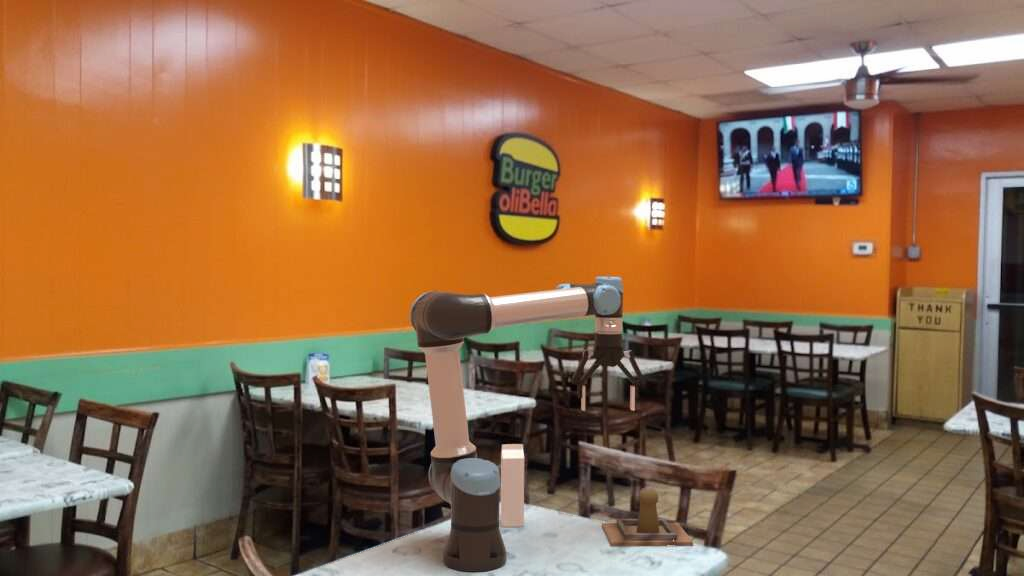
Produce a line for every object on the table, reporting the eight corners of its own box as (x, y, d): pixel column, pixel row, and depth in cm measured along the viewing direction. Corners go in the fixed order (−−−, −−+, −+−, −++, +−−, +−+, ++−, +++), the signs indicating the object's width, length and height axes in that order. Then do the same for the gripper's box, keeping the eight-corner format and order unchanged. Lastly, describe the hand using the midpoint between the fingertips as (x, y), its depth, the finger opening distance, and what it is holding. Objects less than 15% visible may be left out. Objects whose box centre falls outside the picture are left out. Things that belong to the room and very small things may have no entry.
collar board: (611, 546, 208) (611, 536, 208) (601, 526, 224) (602, 517, 224) (693, 545, 209) (693, 536, 209) (678, 526, 225) (678, 517, 225)
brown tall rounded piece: (653, 537, 212) (653, 495, 212) (632, 532, 216) (632, 491, 216) (663, 531, 217) (663, 490, 217) (642, 527, 221) (643, 486, 221)
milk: (523, 527, 224) (524, 446, 223) (501, 527, 223) (502, 446, 223) (521, 520, 230) (522, 441, 229) (500, 520, 229) (501, 441, 229)
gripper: (564, 333, 221) (563, 412, 221) (656, 334, 222) (655, 412, 222) (562, 331, 228) (561, 407, 229) (650, 332, 229) (650, 407, 230)
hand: (607, 410), depth 226 cm, fingers open, 13 cm apart
